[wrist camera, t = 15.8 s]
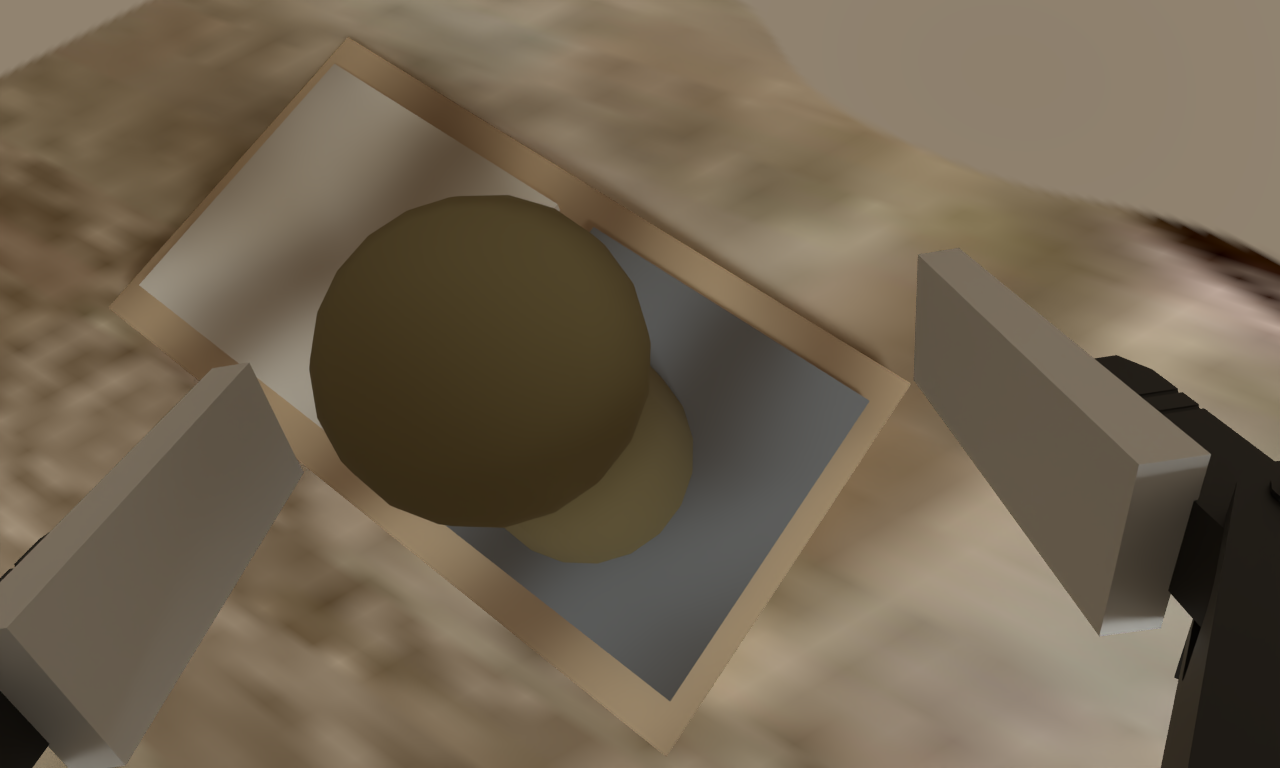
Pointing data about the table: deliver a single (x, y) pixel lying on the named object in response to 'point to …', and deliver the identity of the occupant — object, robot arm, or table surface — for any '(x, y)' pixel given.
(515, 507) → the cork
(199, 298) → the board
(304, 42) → the table surface
